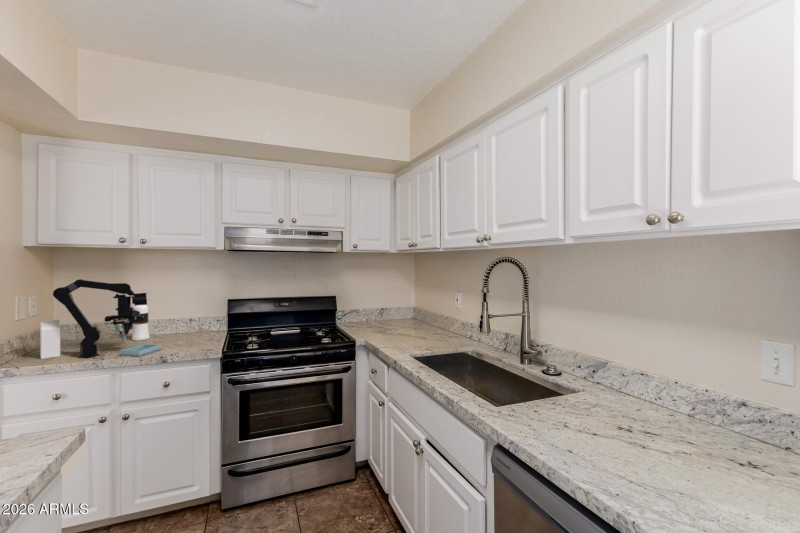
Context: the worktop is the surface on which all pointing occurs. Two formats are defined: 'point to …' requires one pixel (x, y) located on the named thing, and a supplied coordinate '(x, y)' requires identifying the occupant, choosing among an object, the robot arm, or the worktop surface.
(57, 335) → the milk carton
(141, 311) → the vodka
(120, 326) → the mechanical component
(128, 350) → the tray
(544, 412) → the worktop surface
